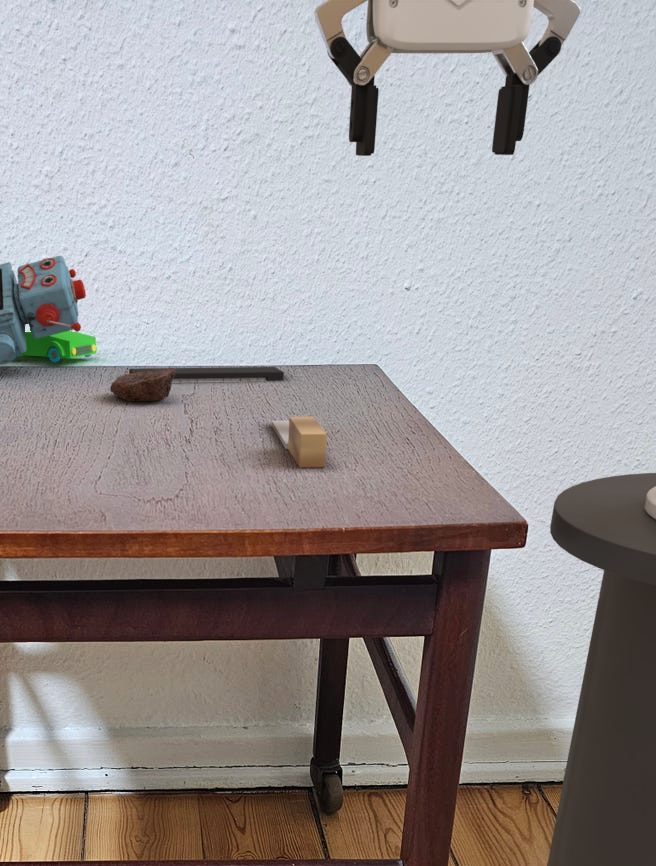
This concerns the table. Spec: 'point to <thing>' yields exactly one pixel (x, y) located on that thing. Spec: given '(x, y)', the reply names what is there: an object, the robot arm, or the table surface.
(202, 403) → the table surface
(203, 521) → the table surface
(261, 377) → the dark grey flat bar
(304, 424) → the knife
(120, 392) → the stone
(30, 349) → the toy car
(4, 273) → the toy robot
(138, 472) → the table surface
